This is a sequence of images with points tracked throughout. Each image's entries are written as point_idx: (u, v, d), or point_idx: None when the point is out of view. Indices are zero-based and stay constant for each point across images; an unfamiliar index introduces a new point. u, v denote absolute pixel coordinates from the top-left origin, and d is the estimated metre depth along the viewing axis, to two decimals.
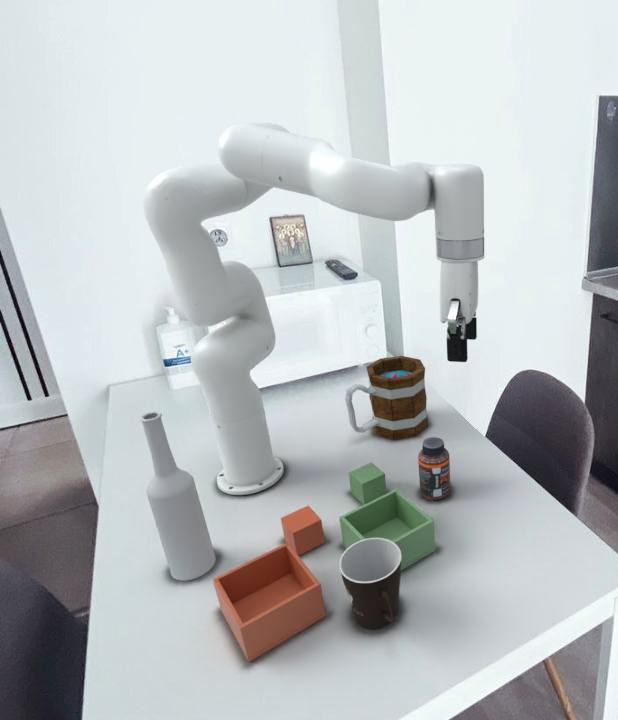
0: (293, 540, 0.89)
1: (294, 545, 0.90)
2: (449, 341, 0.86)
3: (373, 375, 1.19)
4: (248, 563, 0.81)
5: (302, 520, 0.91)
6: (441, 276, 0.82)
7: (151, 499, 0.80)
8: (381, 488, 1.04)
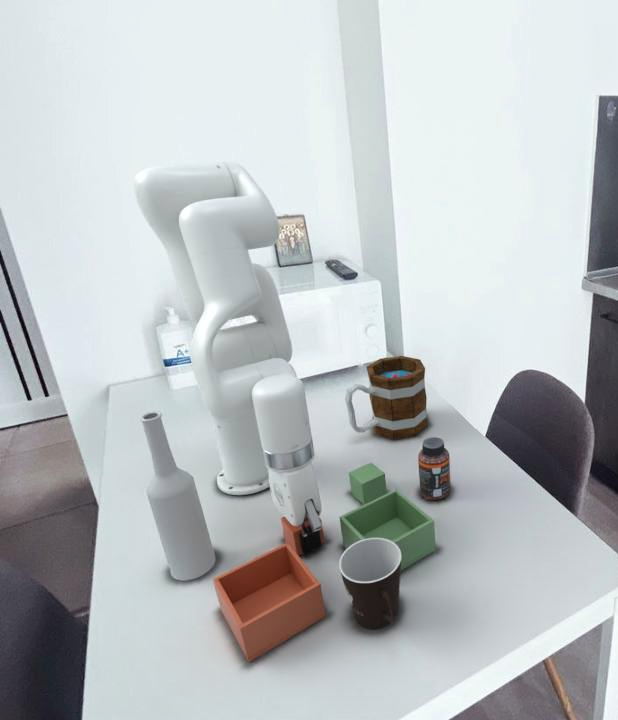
0: (293, 540, 0.89)
1: (294, 545, 0.90)
2: (303, 537, 0.89)
3: (373, 375, 1.19)
4: (248, 563, 0.81)
5: None
6: (290, 487, 0.83)
7: (151, 499, 0.80)
8: (381, 488, 1.04)
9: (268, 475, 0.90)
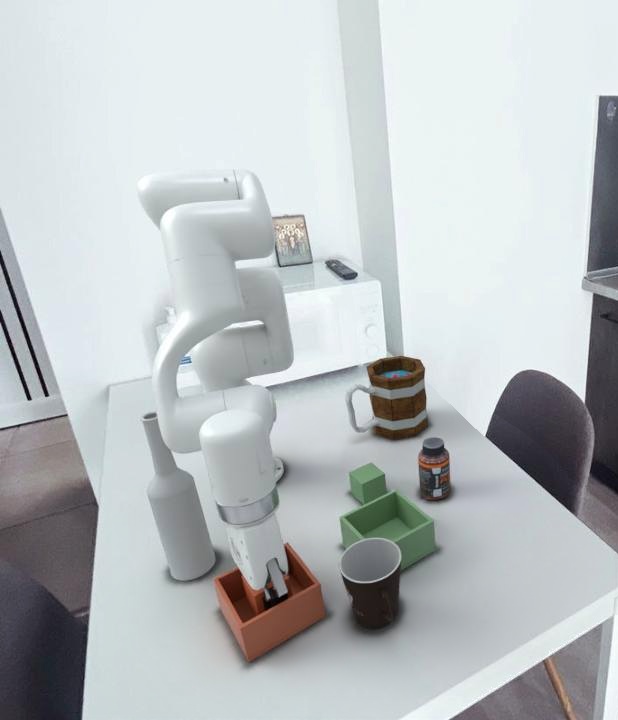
0: (255, 604, 0.75)
1: (256, 609, 0.75)
2: (267, 601, 0.75)
3: (373, 375, 1.19)
4: None
5: None
6: (248, 545, 0.69)
7: (151, 499, 0.80)
8: (381, 488, 1.04)
9: None
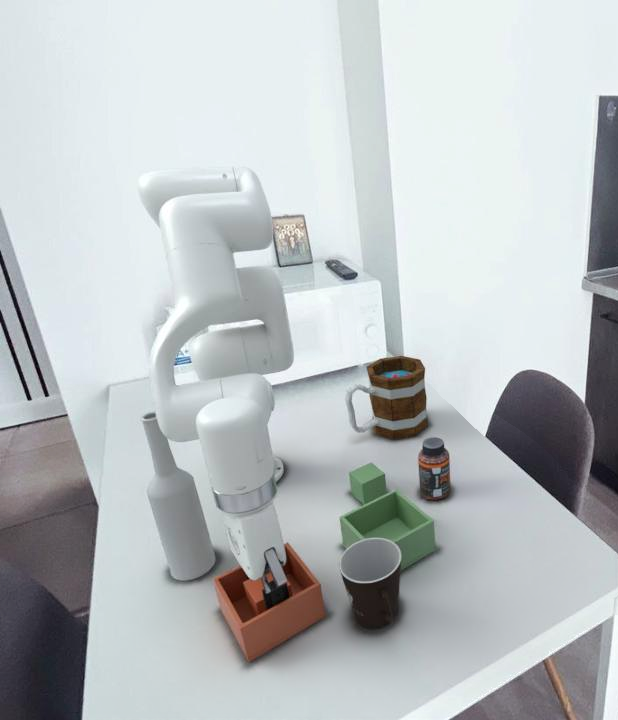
0: (257, 610, 0.76)
1: None
2: (267, 593, 0.73)
3: (373, 375, 1.19)
4: None
5: None
6: (245, 534, 0.68)
7: (151, 499, 0.80)
8: (381, 488, 1.04)
9: (223, 516, 0.75)
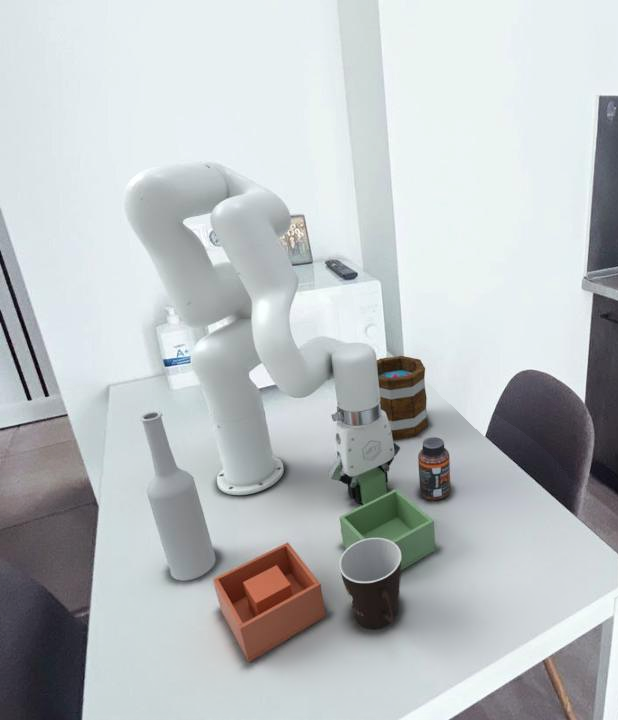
0: (257, 610, 0.76)
1: None
2: (385, 474, 1.05)
3: None
4: (248, 563, 0.81)
5: (268, 586, 0.77)
6: (388, 423, 1.00)
7: (151, 499, 0.80)
8: (381, 488, 1.04)
9: (349, 452, 0.96)
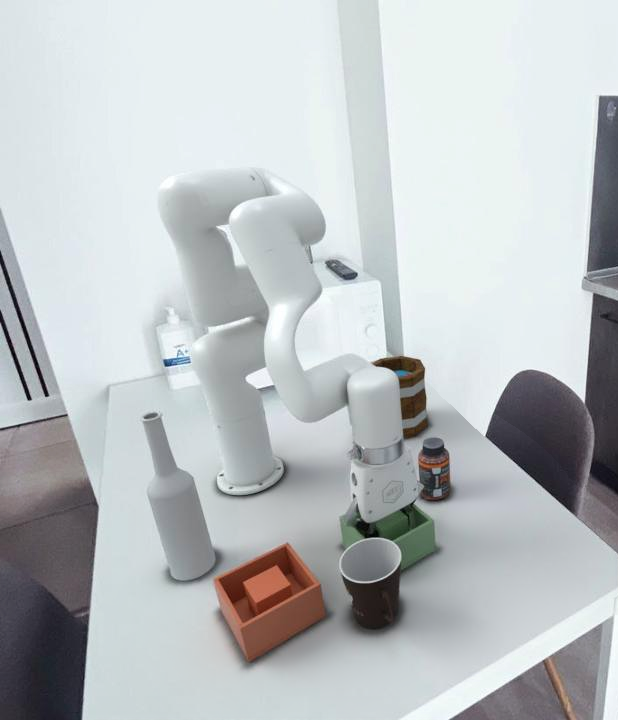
0: (257, 610, 0.76)
1: None
2: None
3: None
4: (248, 563, 0.81)
5: (268, 586, 0.77)
6: (412, 459, 0.86)
7: (151, 499, 0.80)
8: (402, 534, 0.89)
9: (367, 495, 0.82)
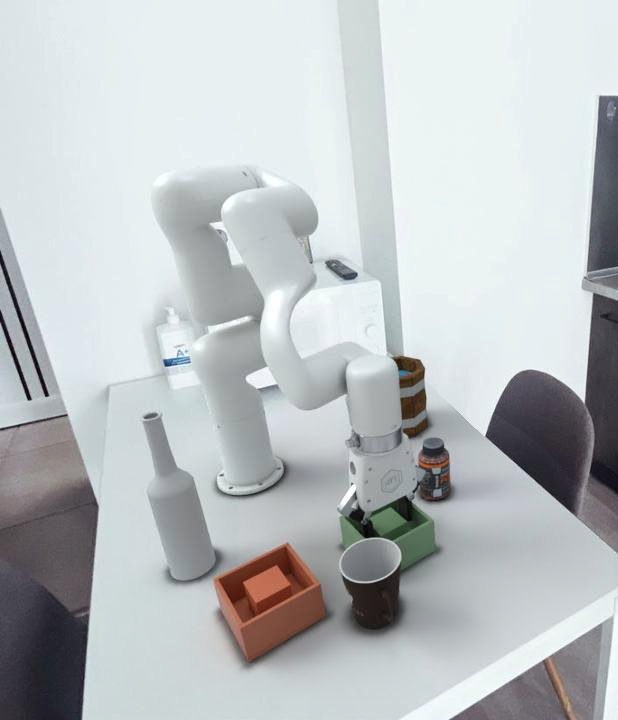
0: (257, 610, 0.76)
1: None
2: None
3: None
4: (248, 563, 0.81)
5: (268, 586, 0.77)
6: (411, 448, 0.85)
7: (151, 499, 0.80)
8: None
9: (365, 484, 0.81)
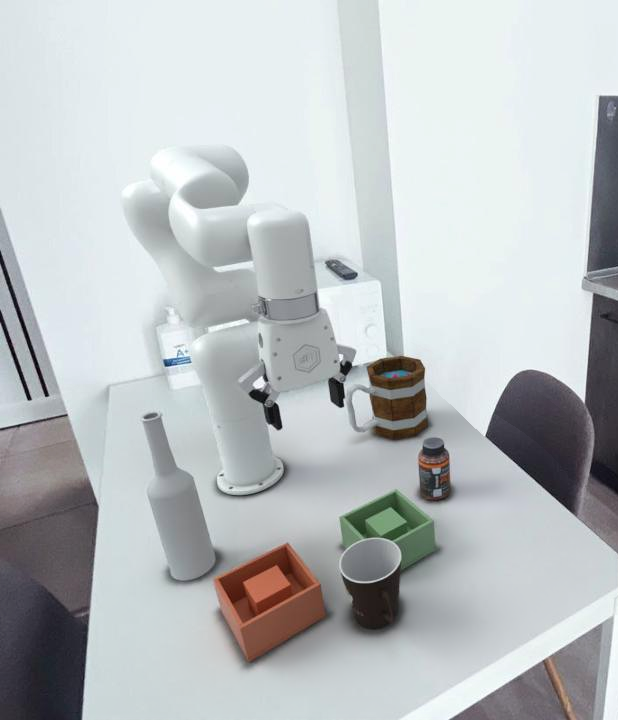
0: (257, 610, 0.76)
1: None
2: None
3: (373, 375, 1.19)
4: (248, 563, 0.81)
5: (268, 586, 0.77)
6: None
7: (151, 499, 0.80)
8: None
9: (274, 357, 0.72)
